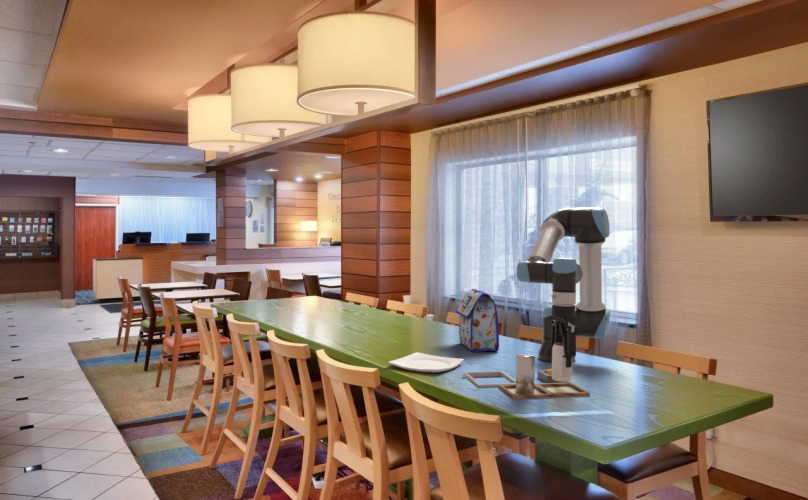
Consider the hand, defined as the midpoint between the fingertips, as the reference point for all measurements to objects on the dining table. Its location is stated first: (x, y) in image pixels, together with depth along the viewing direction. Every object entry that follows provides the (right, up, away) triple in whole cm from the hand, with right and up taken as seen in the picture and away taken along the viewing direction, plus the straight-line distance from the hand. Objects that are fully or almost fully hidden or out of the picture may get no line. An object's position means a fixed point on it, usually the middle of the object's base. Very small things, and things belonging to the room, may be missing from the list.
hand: (562, 374), depth 187 cm
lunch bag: (-18, -5, +76) cm, 78 cm away
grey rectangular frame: (-21, -6, +13) cm, 26 cm away
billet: (-13, -6, -2) cm, 14 cm away
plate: (-43, -6, +38) cm, 58 cm away
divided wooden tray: (-7, -7, -1) cm, 9 cm away
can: (0, -2, 0) cm, 2 cm away
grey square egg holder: (+1, -6, +15) cm, 16 cm away
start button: (+1, -6, +15) cm, 16 cm away
